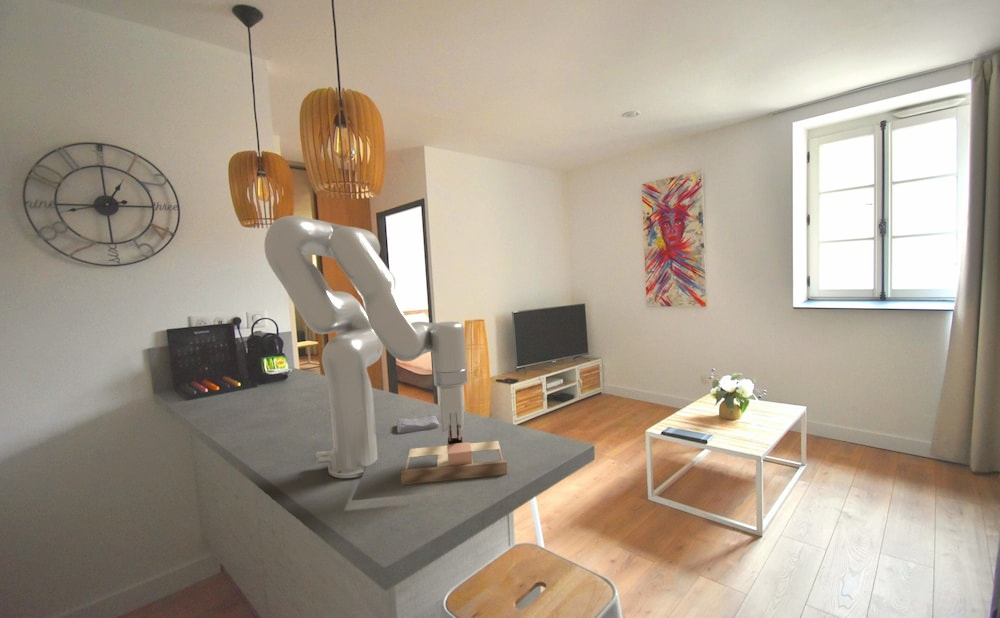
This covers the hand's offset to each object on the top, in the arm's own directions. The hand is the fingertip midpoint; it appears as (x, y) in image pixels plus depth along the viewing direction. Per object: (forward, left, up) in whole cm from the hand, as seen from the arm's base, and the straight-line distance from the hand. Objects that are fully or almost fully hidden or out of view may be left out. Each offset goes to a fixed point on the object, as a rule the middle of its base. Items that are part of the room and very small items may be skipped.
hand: (456, 455), depth 99 cm
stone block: (-11, +26, -3) cm, 29 cm away
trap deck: (0, 0, -3) cm, 3 cm away
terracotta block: (+1, -5, -1) cm, 5 cm away
